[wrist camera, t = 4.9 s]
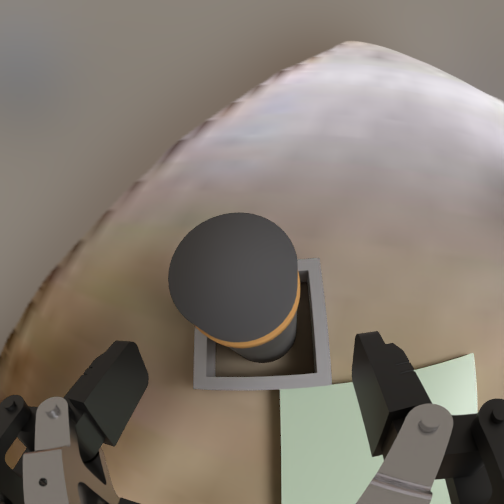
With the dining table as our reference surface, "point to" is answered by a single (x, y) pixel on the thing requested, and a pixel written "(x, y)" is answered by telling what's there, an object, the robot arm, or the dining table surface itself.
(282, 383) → the gray square frame
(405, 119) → the dining table surface
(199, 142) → the dining table surface
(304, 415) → the pale green square mat
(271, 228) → the orange-banded dark cylinder
